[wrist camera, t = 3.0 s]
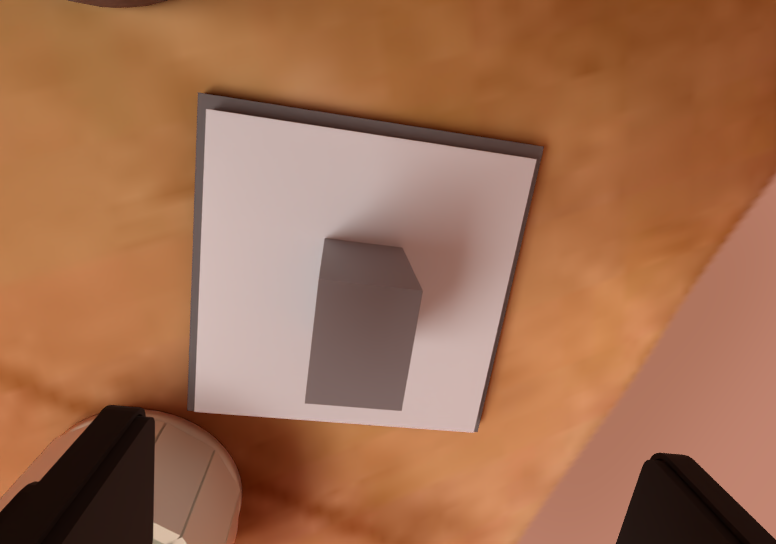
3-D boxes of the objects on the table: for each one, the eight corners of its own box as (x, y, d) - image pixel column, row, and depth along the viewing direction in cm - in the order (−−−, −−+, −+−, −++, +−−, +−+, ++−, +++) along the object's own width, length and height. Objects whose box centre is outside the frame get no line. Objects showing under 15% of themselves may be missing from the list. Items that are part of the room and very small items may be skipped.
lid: (212, 109, 17) (151, 104, 12) (528, 157, 19) (605, 173, 13) (199, 401, 21) (148, 502, 15) (469, 421, 22) (511, 520, 17)
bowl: (33, 401, 21) (-71, 495, 15) (248, 416, 22) (219, 509, 17) (44, 564, 23) (-42, 693, 18) (237, 570, 24) (208, 693, 19)
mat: (202, 93, 18) (197, 92, 17) (538, 145, 19) (543, 146, 19) (191, 402, 21) (187, 410, 21) (474, 424, 23) (477, 431, 23)
